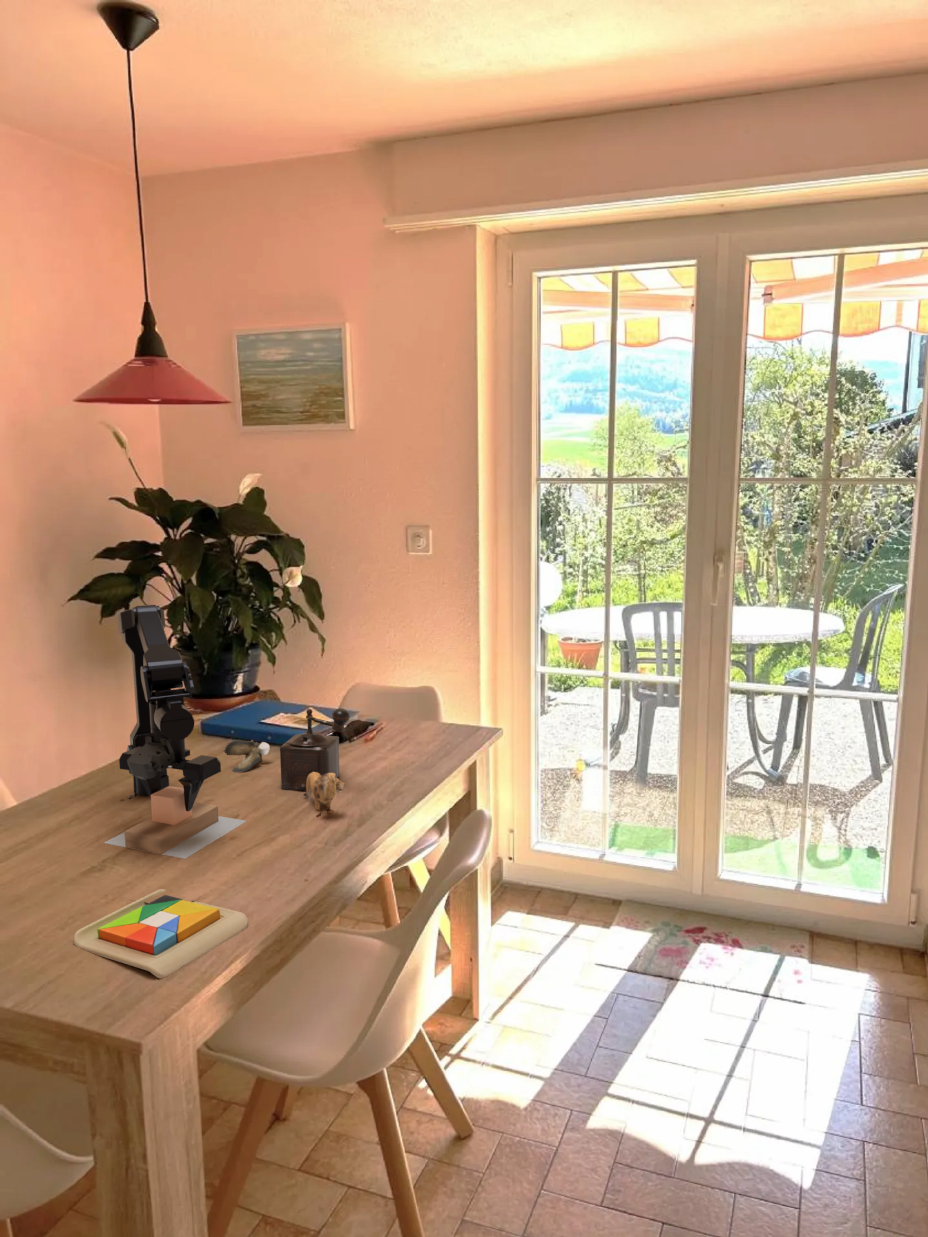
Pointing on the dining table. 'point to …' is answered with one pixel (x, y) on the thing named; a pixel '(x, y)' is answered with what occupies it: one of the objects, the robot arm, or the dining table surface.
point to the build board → (192, 838)
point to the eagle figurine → (247, 753)
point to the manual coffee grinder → (311, 752)
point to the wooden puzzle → (160, 933)
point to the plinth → (170, 830)
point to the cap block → (169, 806)
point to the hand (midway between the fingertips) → (172, 807)
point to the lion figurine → (323, 789)
